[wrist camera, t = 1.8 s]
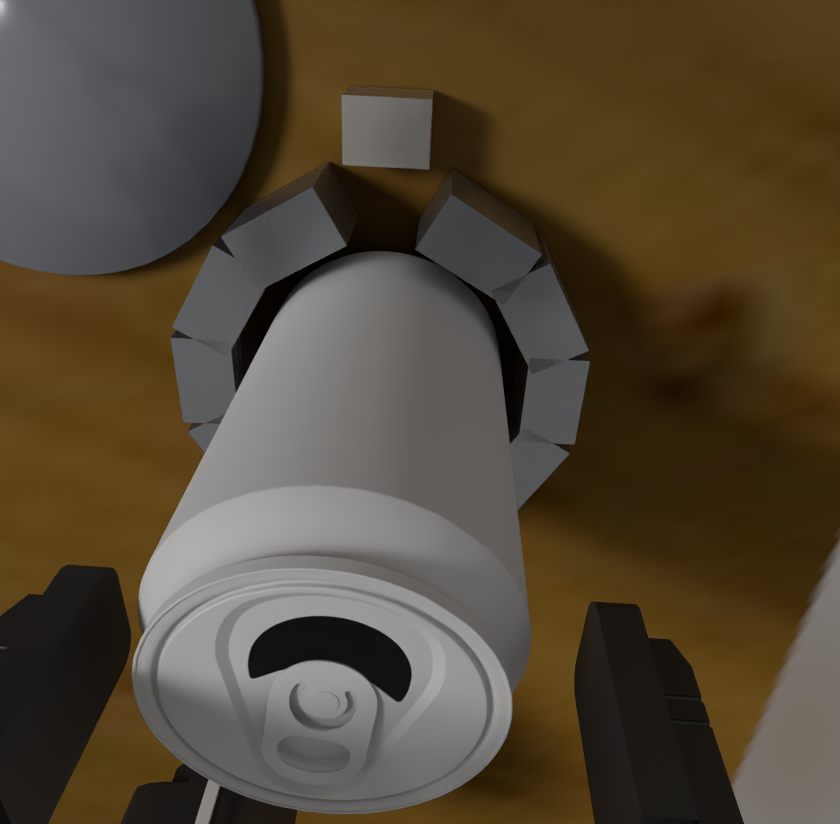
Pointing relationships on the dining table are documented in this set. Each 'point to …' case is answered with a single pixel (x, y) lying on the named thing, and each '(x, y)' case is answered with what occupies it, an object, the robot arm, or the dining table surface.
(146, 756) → the dining table surface
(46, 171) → the coaster
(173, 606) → the beverage can
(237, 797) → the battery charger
